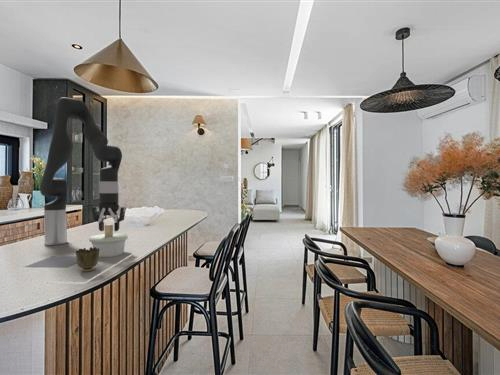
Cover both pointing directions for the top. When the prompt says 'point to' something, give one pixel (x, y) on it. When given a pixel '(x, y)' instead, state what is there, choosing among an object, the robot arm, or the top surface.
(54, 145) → the robot arm
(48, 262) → the mat
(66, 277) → the top surface
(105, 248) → the ramekin
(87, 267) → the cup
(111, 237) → the lid
